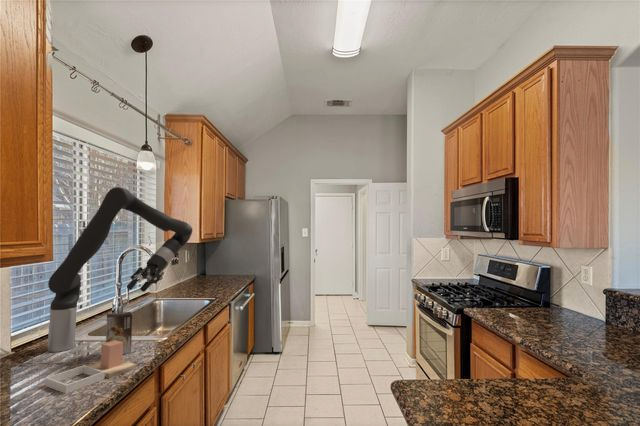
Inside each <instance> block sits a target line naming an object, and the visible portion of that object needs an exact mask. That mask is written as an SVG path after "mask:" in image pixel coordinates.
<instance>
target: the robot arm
mask: <svg viewBox="0 0 640 426" xmlns="http://www.w3.org/2000/svg"><path fill="white" fill-rule="evenodd" d="M121 210H126V211H129V212H132V213H133V214H135V215H137V216H139V217H140V218H142V219H143V220H144V221H146V222H148V223H149V224H151V225H152V226H154V227H156V228H158V229H160V230H161V231H163V232H165V233H166V232H169V231H171V232H174V234H173V235H172V236H171V237H170V238H168V239H167V240H166V241H165V242H164V243H163V244H162V245H161V247H159V248H158V249H157V250H156V251H155V252H154V253H153V254H152V255H151V257H150V258H149V259H148V260H147V261H146V267H144V268H142V267H141V266H140V267H138V268H137V270H135V272H134V273H132V275H131V276H130V279H131V281H129V283H128V284H127V285H126V288H127V289H128V290H129V291H132V290H133V288H135V286H136V285H137V283H139V282H140V281H144V280H146V281H144V283H143V284H142V285H141V287H140V288H139V290H140V291H141V292H142V293H143V292H144V293H145V292H146V291H147V290H148V288H149V287H150V286H152V285H156V284H157V283H158V282H159V281H160V279H161V278H162V277H163V275H164V274H165V272H164V270H165V269H166V268H167V267H168V266H169V264H170V263H171V262H172V260H173V259H174V257H175V256H176V255H177V254H178V253H179V251H180V249H182V248H183V247H184V246H185V245H186V244H187V243H188V242H189V240H190V239H191V236H192V234H193V227H192V226H191V225H190V224H189V223H188V222H186V221H184V220H180V219H177V218H173V217H171V216H170V215H168V214H166V213H164V212H162V211H161V210H159V209H156V208H155V207H152V206H151V205H148V204H147V203H146V202H144V201H143V200H140V199H139V198H138V197H136V195H134V194H133V193H132V192H131V191H129V190H128V189H126V188H124V187H119V186H118V187H117V186H116V187H115V186H114V187H112V188H111V189H109V190H108V191H107V193H106V194H105V197H104V198H103V200H102V201H101V204H100V206H99V207H98V209H97V211H96V213H95V214H94V215H93V217H92V218H91V219H90V221H89V222H88V224H87V226H86V227H85V228H84V229H83V231H82V232H81V234H80V235H79V237H78V238H77V240H76V241H75V243H74V244H73V246H72V248H71V249H70V251H69V253H68V255H67V256H66V257H65V259H64V260H63V262H62V263H60V265H59V266H58V267H57V269H56V270H55V271H54V272H53V273H52V274H51V276H50V278H49V280H48V282H47V283H48V285H47V287H48V289H49V290H50V292H51V293H55V295H54V298H53V299H52V301H51V302H50V309H49V326H48V334H47V335H48V336H47V337H48V338H47V351H48V352H51V353H54V352H55V353H56V352H57V353H58V352H63V351H68V350H71V349H73V348H75V346H76V345H75V344H76V331H77V330H76V328H77V311H78V302H79V299H80V294H81V293H80V292H81V282H82V281H81V280H82V279H81V276H80V274H79V273H80V271H81V270H82V268H83V267H84V265H85V264H87V263H88V262H89V261H90V260H91V259H92V258H93V257H94V256H95V255H96V254H97V252H99V251H100V249H101V247H102V246H103V245H104V243H105V241H106V240H107V238H108V236H109V234H110V230H111V228H112V224H113V222H114V220H115V218H116V216H117V215H118V213H119V212H120V211H121Z"/></svg>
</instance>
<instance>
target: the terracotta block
mask: <svg viewBox="0 0 640 426" xmlns="http://www.w3.org/2000/svg"><path fill="white" fill-rule="evenodd" d="M100 345H101V346H100V361H99V362H100V366H101V367H104V368H107V369H110V368H113V367H116V366H118V365H121V364H122V361H123V356H124V354H123V342H120V341H116V340H114V341H110V342H107V343H106V342H104V343H100Z"/></svg>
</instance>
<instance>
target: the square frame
mask: <svg viewBox="0 0 640 426" xmlns="http://www.w3.org/2000/svg"><path fill="white" fill-rule="evenodd" d="M88 366H89V365H84V364H83V365H81V366H77V367H75V368H72V369H71V368H70V369H68V370H65V371H62V372H59V373H56V374H53V375H49V376H47V377H45V379H44V380H45V381H44V386H45V387H48V388H50V389H53V390H54V391H58V392H60V393H63V394H69V393H71V392H75V391H77V390H80V389H82V388H85V387H87V386H90V385H93V384H96V383H99V382H100V381H103V380H105V378H106V377H105V372H104V371H101V370H98V369H94V368H91V367H88ZM82 374H83V375H88V376H87V377H85V378H82V379H79V380H76V381H73V382H70V383H68V384H67V383H64V382H62V381H64V380H67V379H71V378H73V377H76V376H78V375H82Z"/></svg>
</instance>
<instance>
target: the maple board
mask: <svg viewBox="0 0 640 426" xmlns="http://www.w3.org/2000/svg"><path fill="white" fill-rule="evenodd" d="M87 366H88V367H91V368H94V369H98V370H101V371H104V372H105V377H104V378H106V379H112V378H114V377H117V376H120V375H122V374H125V373H127V372H131V371H133V370H135V369H137V364H136V363H133V362H129V361H125V360H122V364H121V365H118V366H116V367H113V368H110V369H107V368H104V367H101V366H100V361H98V362H95V363H92V364H89V365H87Z"/></svg>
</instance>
